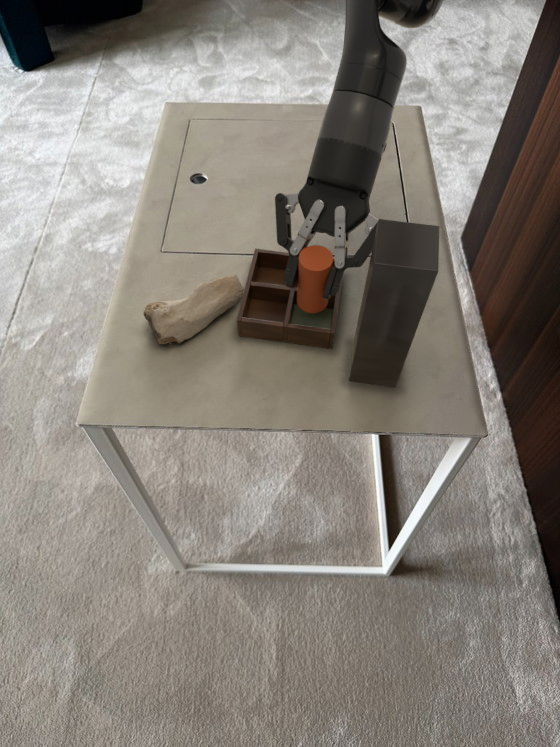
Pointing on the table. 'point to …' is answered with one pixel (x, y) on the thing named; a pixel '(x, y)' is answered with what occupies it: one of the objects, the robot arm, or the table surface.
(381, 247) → the stand
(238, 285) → the bone fragment
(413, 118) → the table surface
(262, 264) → the grid
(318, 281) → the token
